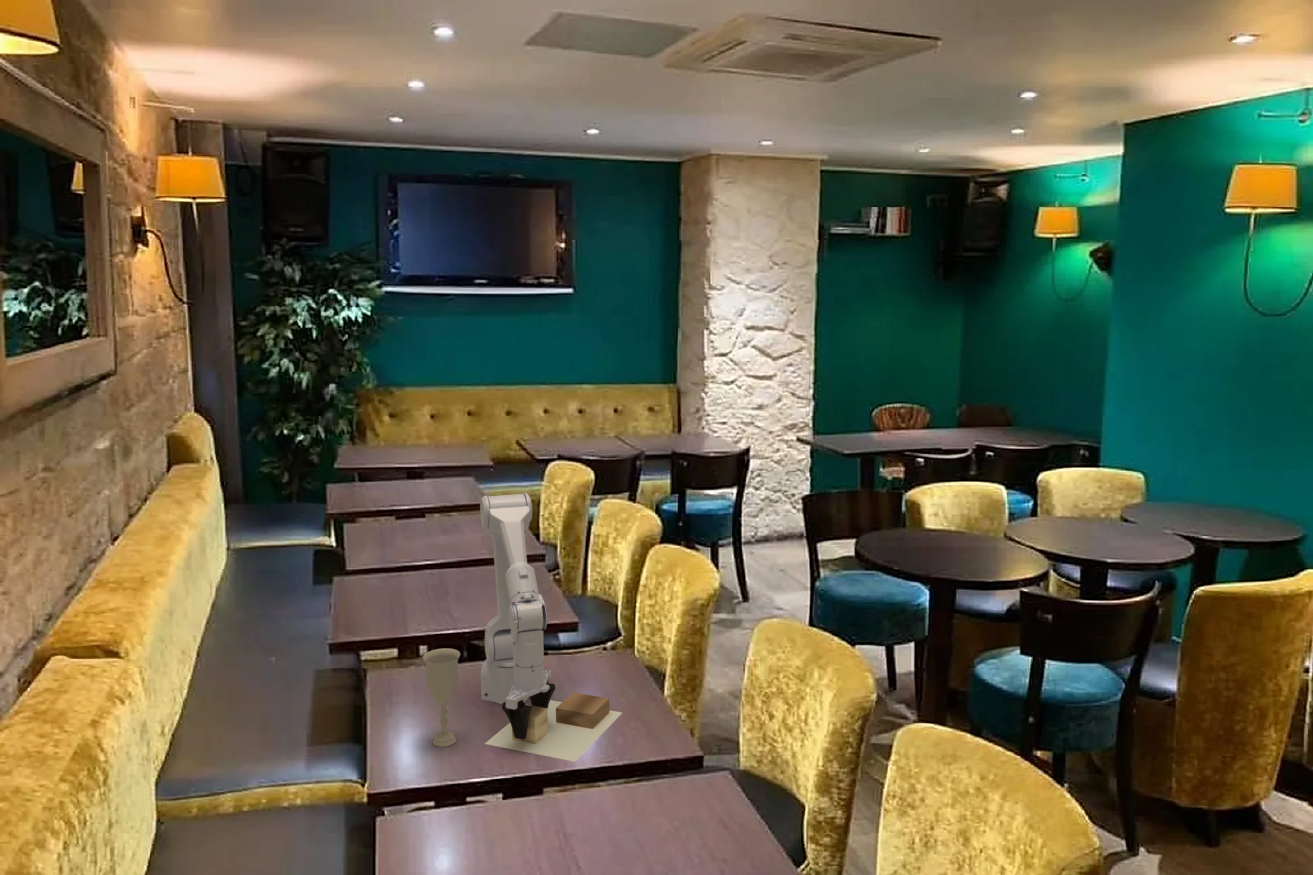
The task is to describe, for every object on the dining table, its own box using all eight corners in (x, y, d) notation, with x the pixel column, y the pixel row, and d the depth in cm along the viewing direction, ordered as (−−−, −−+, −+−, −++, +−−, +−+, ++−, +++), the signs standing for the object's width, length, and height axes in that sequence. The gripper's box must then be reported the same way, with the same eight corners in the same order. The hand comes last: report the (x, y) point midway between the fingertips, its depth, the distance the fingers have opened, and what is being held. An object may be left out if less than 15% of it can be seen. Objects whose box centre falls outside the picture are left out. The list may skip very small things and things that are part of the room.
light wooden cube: (512, 739, 191) (511, 714, 190) (524, 728, 196) (524, 704, 195) (535, 743, 190) (535, 719, 189) (547, 732, 194) (547, 708, 193)
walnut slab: (556, 722, 198) (555, 708, 198) (573, 706, 206) (573, 692, 205) (592, 729, 196) (592, 714, 195) (609, 712, 203) (609, 698, 202)
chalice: (453, 756, 186) (450, 664, 183) (419, 752, 188) (416, 661, 185) (468, 738, 193) (466, 649, 190) (435, 735, 195) (432, 647, 192)
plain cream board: (484, 748, 190) (484, 743, 189) (539, 701, 210) (539, 697, 210) (575, 766, 183) (575, 761, 183) (622, 716, 203) (622, 712, 203)
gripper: (529, 679, 182) (530, 749, 184) (564, 651, 195) (565, 717, 198) (495, 674, 185) (496, 743, 187) (532, 646, 198) (533, 711, 200)
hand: (530, 729), depth 192 cm, fingers open, 7 cm apart
